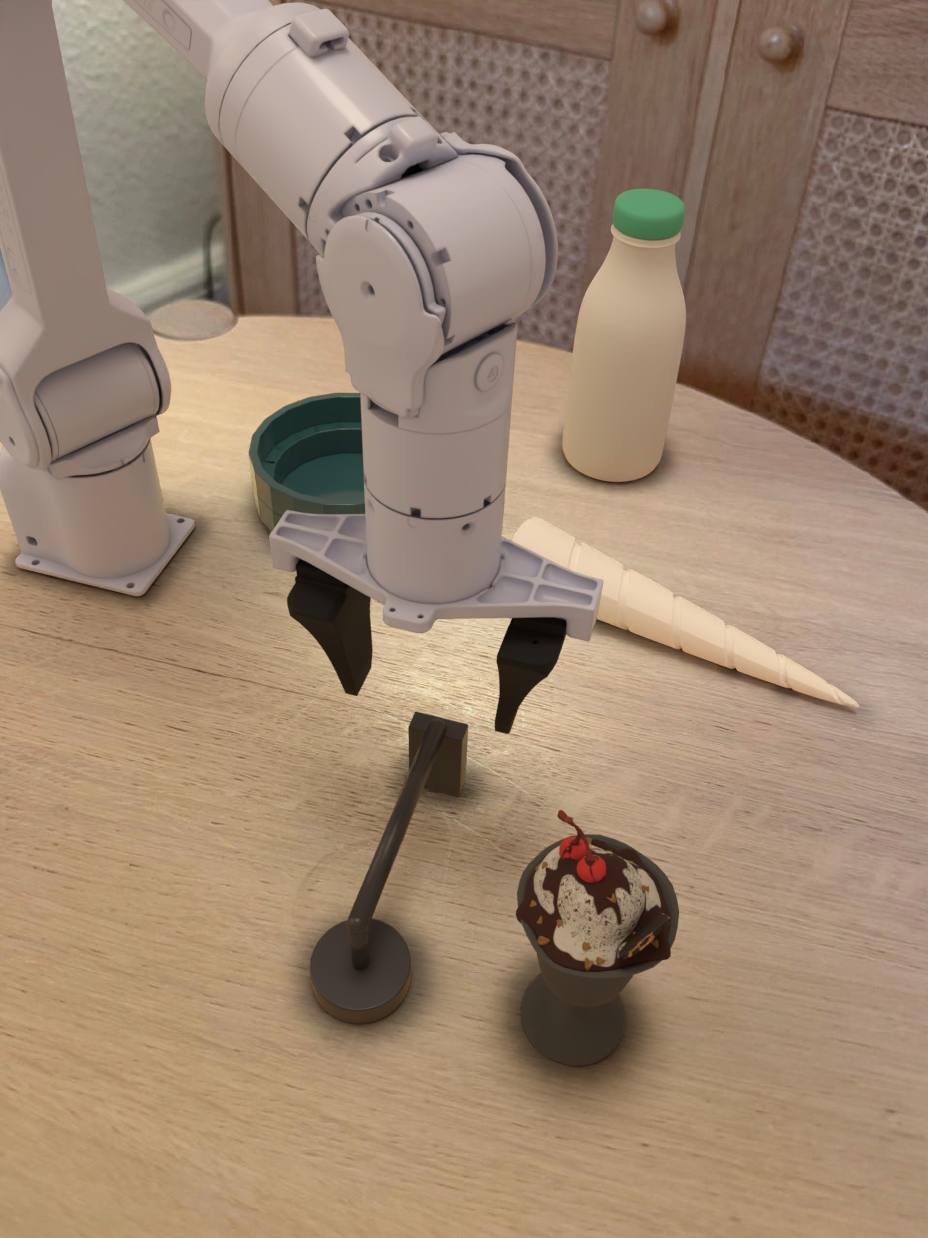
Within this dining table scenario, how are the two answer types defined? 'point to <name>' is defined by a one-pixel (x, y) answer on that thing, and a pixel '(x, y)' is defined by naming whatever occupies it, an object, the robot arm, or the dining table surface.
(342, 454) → the bowl
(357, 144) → the robot arm
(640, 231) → the milk bottle
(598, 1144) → the dining table surface
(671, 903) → the sundae
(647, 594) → the unicorn horn
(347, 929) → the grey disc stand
